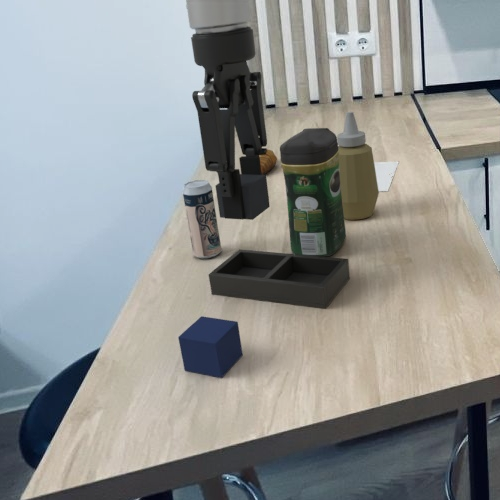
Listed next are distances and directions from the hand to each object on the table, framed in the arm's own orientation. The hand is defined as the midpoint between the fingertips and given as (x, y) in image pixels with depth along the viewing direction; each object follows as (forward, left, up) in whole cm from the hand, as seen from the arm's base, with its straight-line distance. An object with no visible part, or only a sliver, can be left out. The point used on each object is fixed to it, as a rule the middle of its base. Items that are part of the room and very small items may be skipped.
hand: (245, 210), depth 88 cm
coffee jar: (-3, -16, -12) cm, 20 cm away
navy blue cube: (-4, +18, -12) cm, 22 cm away
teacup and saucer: (+6, -52, -12) cm, 54 cm away
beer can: (+14, -10, -12) cm, 21 cm away
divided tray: (-3, -2, -12) cm, 13 cm away
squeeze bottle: (-4, -31, -12) cm, 33 cm away
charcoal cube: (0, 0, 0) cm, 0 cm away
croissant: (+27, -56, -12) cm, 63 cm away
